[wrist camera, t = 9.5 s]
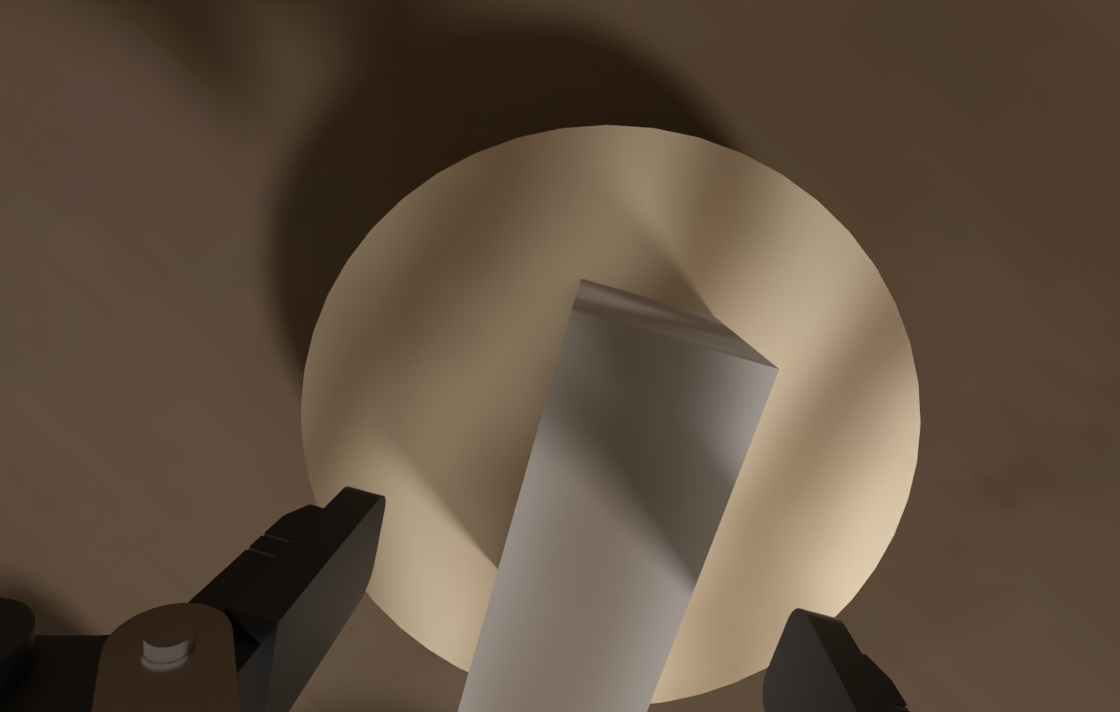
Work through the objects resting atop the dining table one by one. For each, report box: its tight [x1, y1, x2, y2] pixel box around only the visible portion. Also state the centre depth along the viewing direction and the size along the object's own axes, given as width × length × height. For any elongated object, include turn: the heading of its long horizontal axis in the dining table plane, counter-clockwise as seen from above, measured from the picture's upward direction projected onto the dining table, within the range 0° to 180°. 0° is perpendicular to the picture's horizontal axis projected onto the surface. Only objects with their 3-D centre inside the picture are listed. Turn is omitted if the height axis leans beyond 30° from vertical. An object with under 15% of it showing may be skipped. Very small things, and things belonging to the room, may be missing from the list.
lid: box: [301, 125, 920, 712], centre depth 15 cm, size 19×19×7 cm
